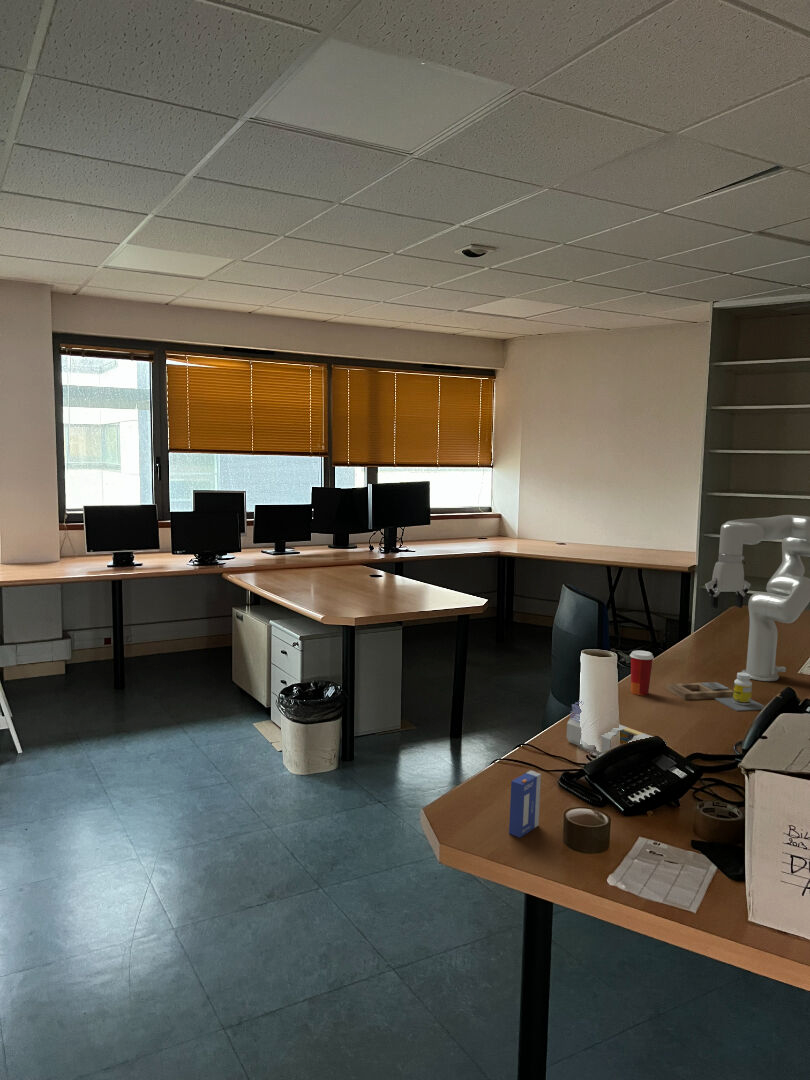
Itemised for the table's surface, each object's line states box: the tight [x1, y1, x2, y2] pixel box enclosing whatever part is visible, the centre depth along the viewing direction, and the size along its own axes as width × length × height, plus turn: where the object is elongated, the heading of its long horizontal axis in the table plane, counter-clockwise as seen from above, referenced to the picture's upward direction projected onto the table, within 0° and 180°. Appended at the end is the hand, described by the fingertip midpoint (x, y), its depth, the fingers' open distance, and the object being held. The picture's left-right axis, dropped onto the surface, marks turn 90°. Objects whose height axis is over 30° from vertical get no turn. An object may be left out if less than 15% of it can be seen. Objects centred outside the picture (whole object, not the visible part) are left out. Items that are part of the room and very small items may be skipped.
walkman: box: [508, 770, 542, 839], centre depth 166 cm, size 8×3×12 cm, turn 140°
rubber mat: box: [713, 697, 766, 712], centre depth 256 cm, size 12×12×1 cm
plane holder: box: [666, 681, 734, 701], centre depth 267 cm, size 19×11×3 cm, turn 103°
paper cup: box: [629, 650, 654, 696], centre depth 265 cm, size 8×8×14 cm
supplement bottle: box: [733, 671, 753, 705], centre depth 256 cm, size 5×5×10 cm
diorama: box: [565, 700, 667, 756], centre depth 211 cm, size 25×10×13 cm, turn 37°
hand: (726, 607), depth 274 cm, fingers open, 9 cm apart
